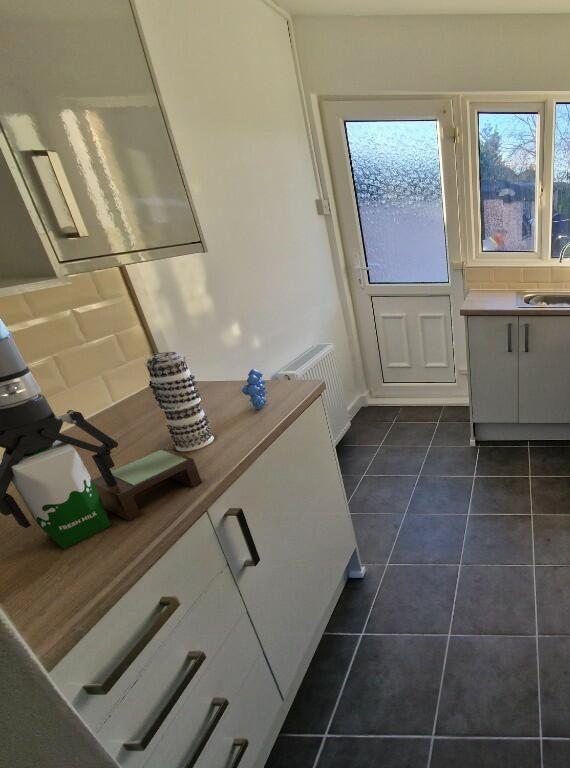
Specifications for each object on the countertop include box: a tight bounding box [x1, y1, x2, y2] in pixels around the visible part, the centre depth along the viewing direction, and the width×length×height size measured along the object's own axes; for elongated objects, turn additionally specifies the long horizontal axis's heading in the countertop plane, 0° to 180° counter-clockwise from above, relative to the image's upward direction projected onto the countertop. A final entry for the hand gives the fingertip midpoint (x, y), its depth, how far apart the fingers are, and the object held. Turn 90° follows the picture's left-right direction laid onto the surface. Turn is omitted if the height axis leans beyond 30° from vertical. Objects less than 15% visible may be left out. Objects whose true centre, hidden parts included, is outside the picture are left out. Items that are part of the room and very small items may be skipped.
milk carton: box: [0, 440, 112, 550], centre depth 77 cm, size 9×9×20 cm
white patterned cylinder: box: [143, 351, 215, 452], centre depth 106 cm, size 9×9×25 cm
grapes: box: [241, 368, 268, 410], centre depth 129 cm, size 12×7×12 cm, turn 19°
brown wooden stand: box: [92, 447, 203, 522], centre depth 90 cm, size 11×14×7 cm
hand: (71, 502), depth 79 cm, fingers open, 12 cm apart
